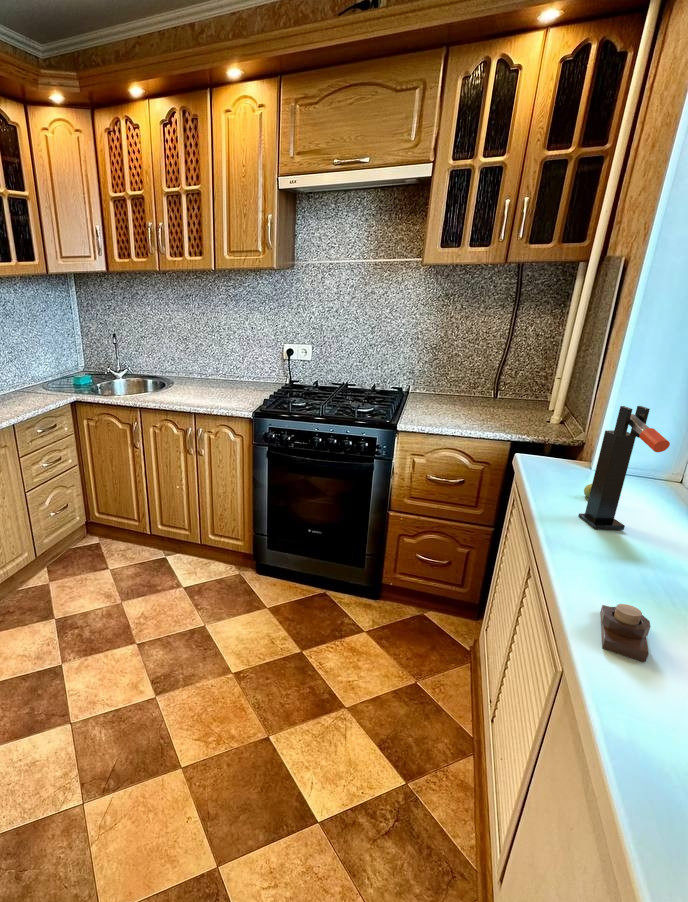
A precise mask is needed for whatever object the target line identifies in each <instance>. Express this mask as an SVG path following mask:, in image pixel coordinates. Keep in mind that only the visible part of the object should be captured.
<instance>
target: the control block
mask: <svg viewBox="0 0 688 902" xmlns="http://www.w3.org/2000/svg"><path fill="white" fill-rule="evenodd" d="M615 609H616V606H609V605H606V604H605V605H604V604H602V605H601V608H600V611H599V614H600V630H601V631H600V632H601V633H600V636H601V649H602V650H605V651H608V652H611V653H614V654H616V655H620V656H623V657H627V658H630V659H633V660H637V661H641V662H644V663H647V659H648V656H649V647H648V641H647V637H648V636H649V633H650V631H651V622H650V621H651V620H650V619H648V618H647V617H645V615H643V614H642V616H641V619H640V622H639V624H638V625H629V624H626V623H623V622H621V621H619V620H617V619H616V618H614V613H615Z"/></svg>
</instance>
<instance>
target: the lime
mask: <svg viewBox="0 0 688 902" xmlns="http://www.w3.org/2000/svg"><path fill="white" fill-rule="evenodd" d="M591 487H592V483H589V484H587V485H586V486H584V488H583V494H584V496H585V497H587V499H589V495H590V491H591Z"/></svg>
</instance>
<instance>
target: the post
mask: <svg viewBox="0 0 688 902" xmlns="http://www.w3.org/2000/svg"><path fill="white" fill-rule="evenodd" d="M650 410H651V408H648V407H645V406H643V405H637V406H636V410H635V412H634V415H635V416H636V417H638V418H639V419H640V420H641V421H642V422H643V423H644V424H646V425H647V422H648V418H649V414H650ZM632 412H633V408H631V407H628V406H625V405H620V406H619V410H618V414H617V418H616V422H615V426H614V430H611V429H610V430H604V433H603V438H602V442H601V446H600V447H601V448H600V450H599V455H598V459H597V463H596V467H595V471H594V475H593V478H592V483H591V484H592V487H591V491H590V495H589V498H587V499H588V500H587V504H586V508H585V511H584V513H578V518H579V519H581V520H582V521H583V522H585V523H586V524H587V525H588V526H589V527H591V529H593V530H596V531H604V530H605V531H609V530H610V531H624V530H625V526H626V525H625V524H623V523H622V522H620V521H619V520H617V519H615V517H616V513H617V510H618V506H619V502H620V498H621V494H622V490H623V487H624V483H625V481H626V480H625V479H626V476H627V472H628V469H629V464H630V461H631V457H632V453H633V449H634V447H635V442H636V438H638V439H640V434H638V433H637V432H636V431H635V430H634V429H633V428H632V427H630V432H629V431H628V430H629V429H628V428H629V426H630V425H629V421H630V417H631V414H633V413H632Z"/></svg>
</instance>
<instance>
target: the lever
mask: <svg viewBox="0 0 688 902" xmlns="http://www.w3.org/2000/svg"><path fill="white" fill-rule="evenodd" d="M628 426H629V427H630V428H633V429H634V430H635V431H636V432H637V433H638V434H640V438H639V439H640V440H641V441H642V442H643V443H644V444H646V446H648V447H649V448H650V449H651V450H652V451H653V452H654V453H662V452H665V451H666V450H668V448H669V447H670V445H671V442H670V441H669V440H668V439H666V438H665V436H664V435H662V434H661V433H660V432H658V430H656V429H655V428H654V427H650V426H648V425H647V423H646V424H644V423H643V422H642V421H641V420H640V419H639V418H638V417H636V416H635V413H631V417H630V421H629V425H628Z"/></svg>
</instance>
